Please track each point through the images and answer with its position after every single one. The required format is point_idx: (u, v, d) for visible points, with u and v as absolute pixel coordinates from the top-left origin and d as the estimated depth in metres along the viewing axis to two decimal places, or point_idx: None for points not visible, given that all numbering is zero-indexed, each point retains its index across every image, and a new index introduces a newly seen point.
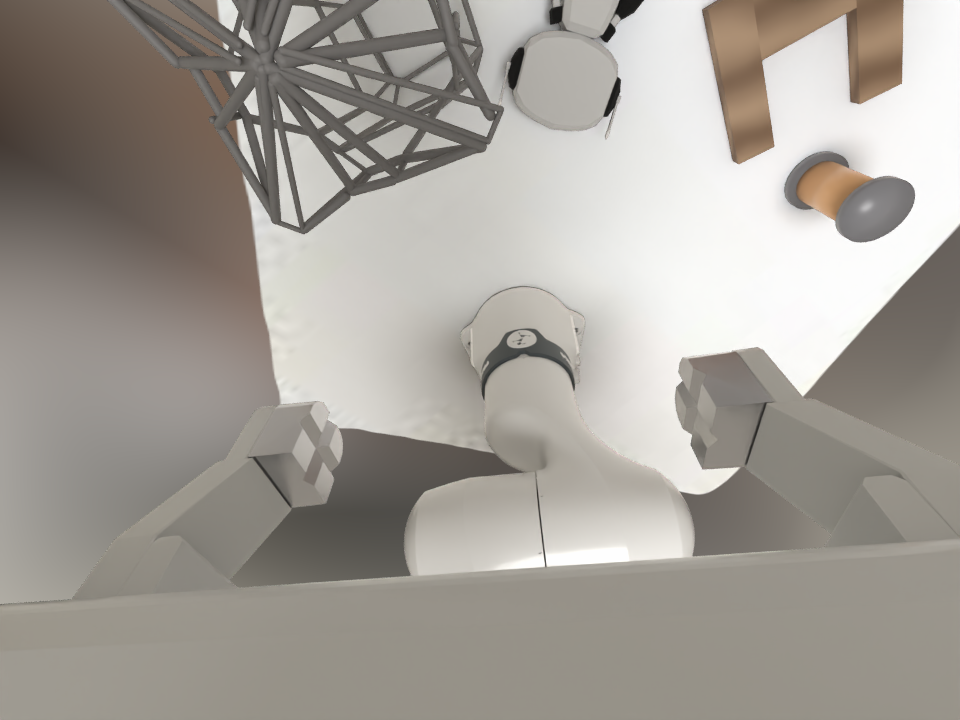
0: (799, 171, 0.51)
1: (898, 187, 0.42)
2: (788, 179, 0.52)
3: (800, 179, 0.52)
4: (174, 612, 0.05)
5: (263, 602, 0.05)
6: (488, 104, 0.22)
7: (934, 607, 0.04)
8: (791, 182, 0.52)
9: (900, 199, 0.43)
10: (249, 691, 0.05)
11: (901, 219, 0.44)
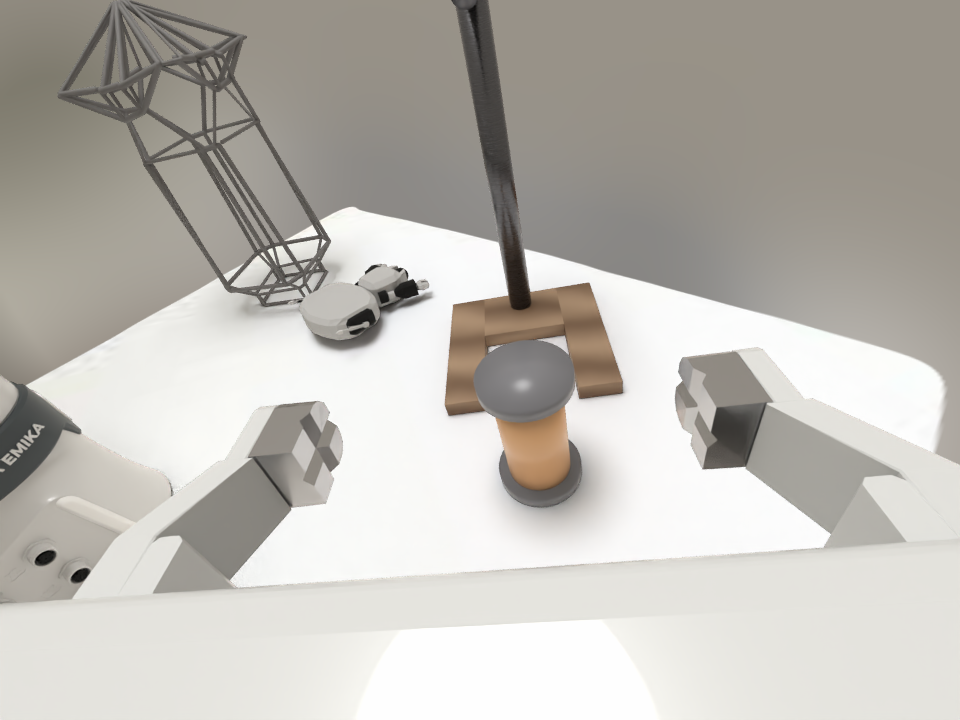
0: None
1: (547, 351, 0.29)
2: None
3: None
4: (174, 612, 0.05)
5: (263, 602, 0.05)
6: None
7: (934, 607, 0.04)
8: (504, 451, 0.36)
9: (553, 365, 0.28)
10: (249, 691, 0.05)
11: (560, 391, 0.26)
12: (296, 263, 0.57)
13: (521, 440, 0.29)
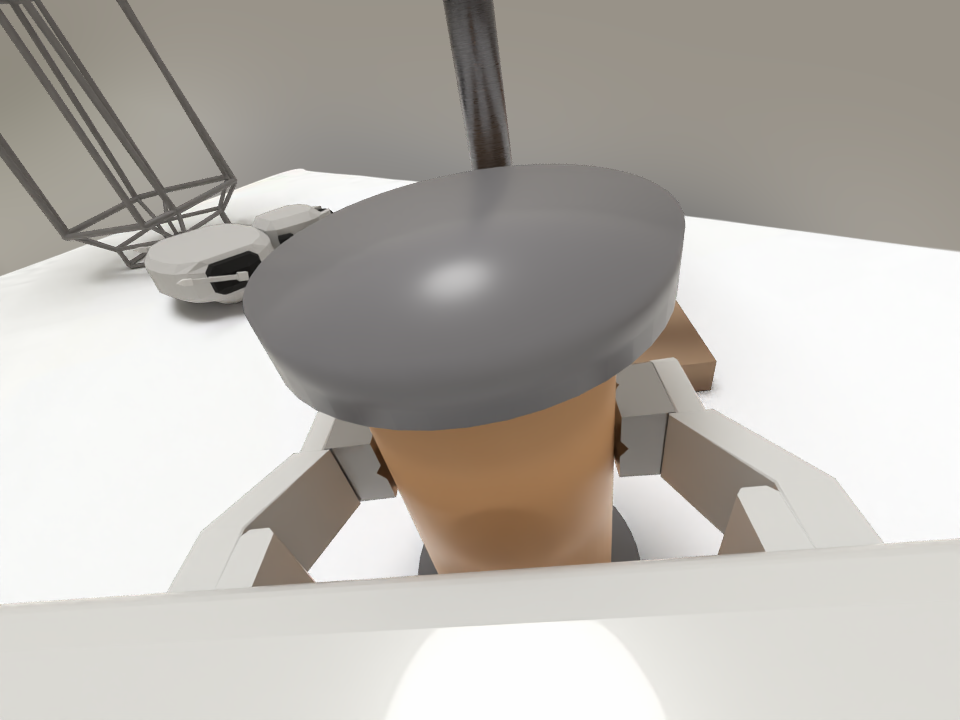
0: None
1: (557, 177, 0.08)
2: None
3: None
4: (174, 612, 0.05)
5: (262, 602, 0.05)
6: None
7: (934, 607, 0.04)
8: None
9: (583, 201, 0.07)
10: (249, 691, 0.05)
11: (630, 270, 0.05)
12: (161, 193, 0.37)
13: (452, 511, 0.07)
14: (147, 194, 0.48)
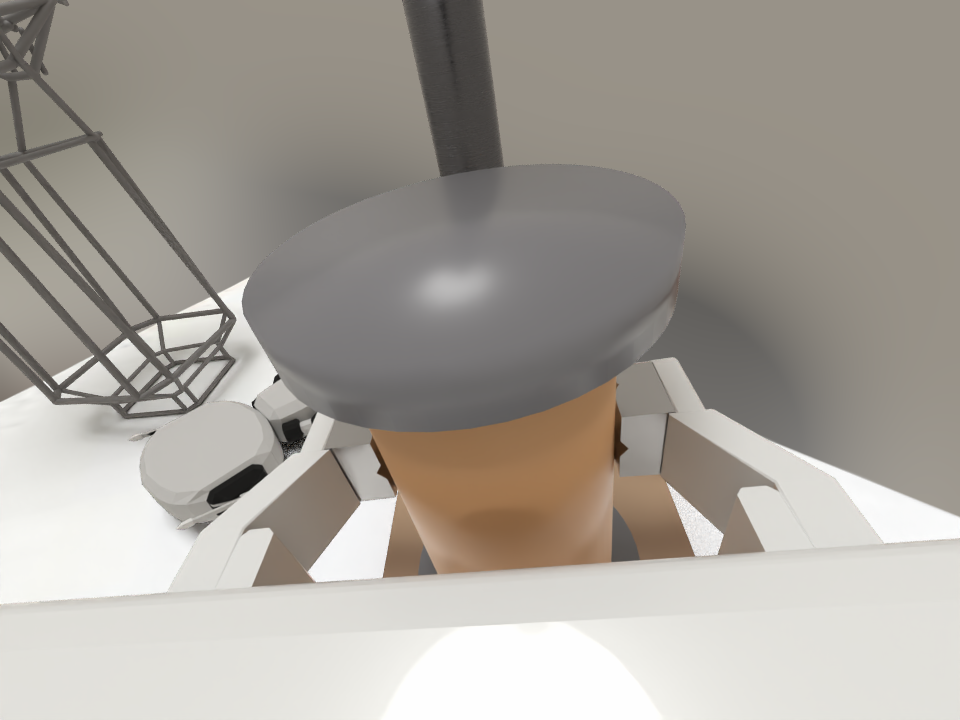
0: None
1: (557, 177, 0.08)
2: None
3: None
4: (174, 612, 0.05)
5: (263, 603, 0.05)
6: None
7: (935, 607, 0.04)
8: None
9: (583, 202, 0.07)
10: (249, 691, 0.05)
11: (630, 271, 0.05)
12: (157, 365, 0.35)
13: (452, 512, 0.07)
14: (142, 325, 0.46)
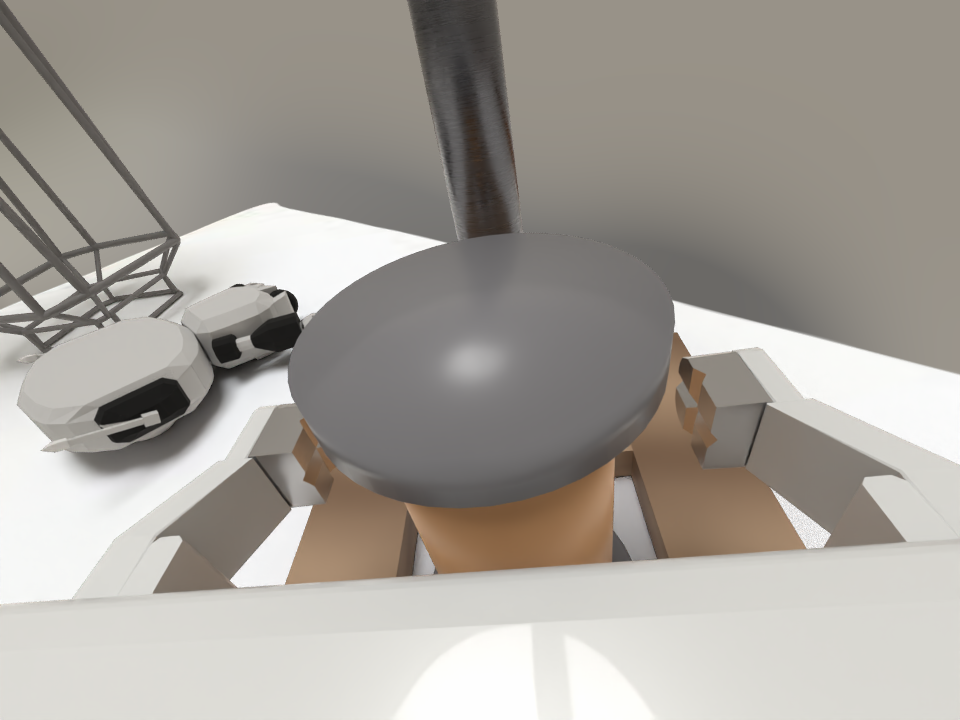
0: None
1: (562, 252, 0.09)
2: None
3: None
4: (174, 612, 0.05)
5: (263, 602, 0.05)
6: None
7: (934, 608, 0.04)
8: None
9: (586, 285, 0.08)
10: (249, 691, 0.05)
11: (626, 371, 0.06)
12: (65, 274, 0.29)
13: (468, 556, 0.08)
14: (75, 252, 0.40)
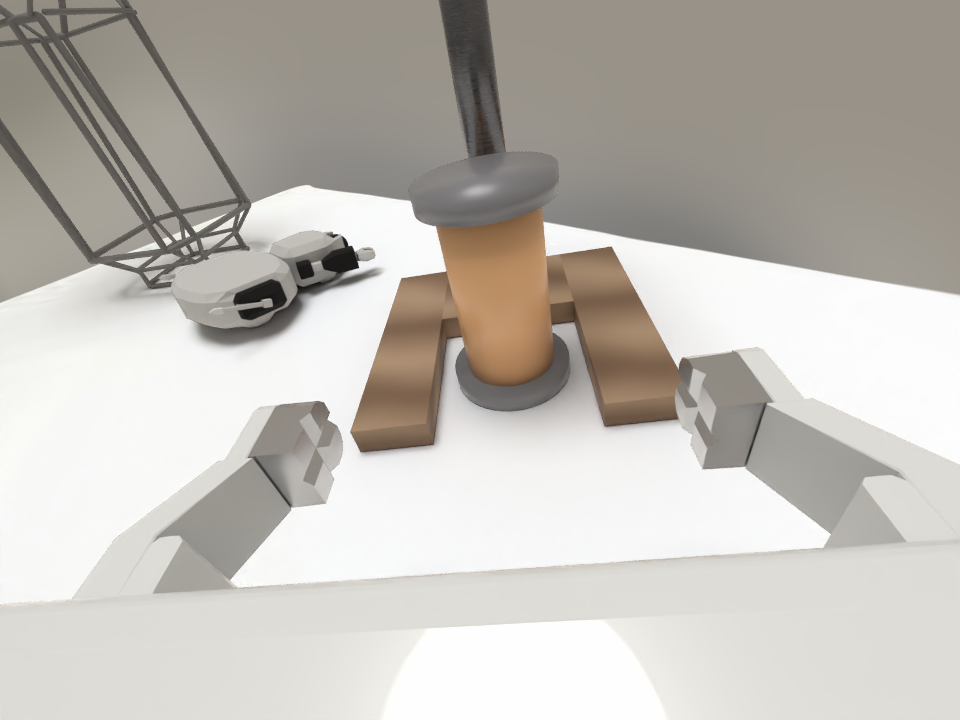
0: None
1: (520, 156, 0.20)
2: None
3: None
4: (174, 612, 0.05)
5: (263, 602, 0.05)
6: None
7: (934, 607, 0.04)
8: (465, 348, 0.26)
9: (527, 164, 0.19)
10: (249, 691, 0.05)
11: (534, 179, 0.17)
12: (182, 221, 0.40)
13: (479, 283, 0.19)
14: (165, 216, 0.51)
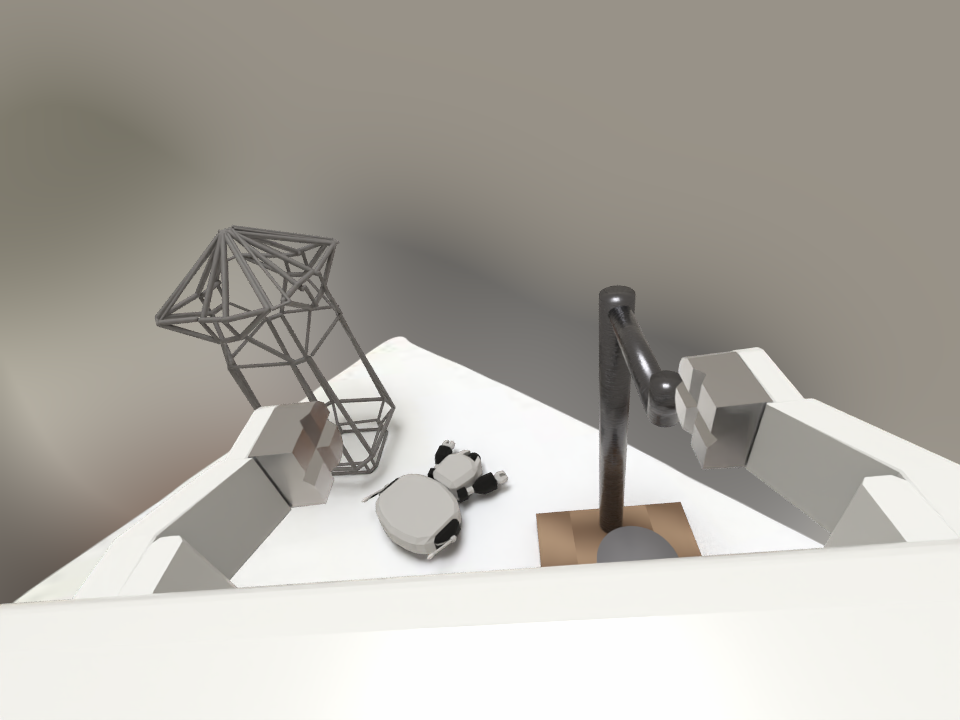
0: None
1: (654, 540, 0.36)
2: None
3: None
4: (174, 612, 0.05)
5: (263, 602, 0.05)
6: (285, 293, 0.41)
7: (934, 607, 0.04)
8: None
9: (662, 557, 0.35)
10: (249, 691, 0.05)
11: None
12: (367, 448, 0.56)
13: None
14: None
